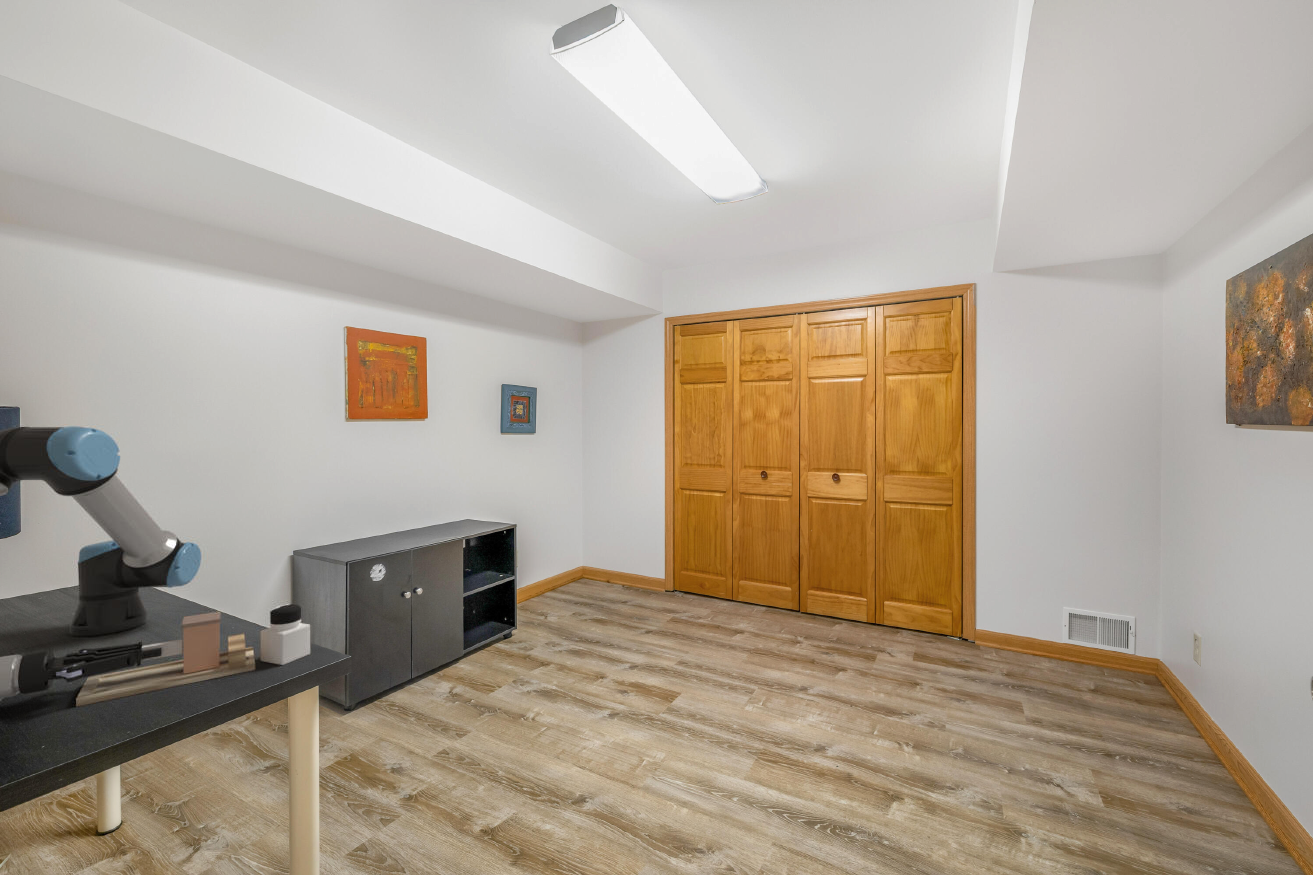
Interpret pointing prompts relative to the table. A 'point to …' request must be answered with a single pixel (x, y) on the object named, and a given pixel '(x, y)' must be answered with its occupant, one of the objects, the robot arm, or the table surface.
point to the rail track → (165, 675)
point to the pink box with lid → (201, 642)
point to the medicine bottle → (285, 636)
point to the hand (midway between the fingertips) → (182, 646)
